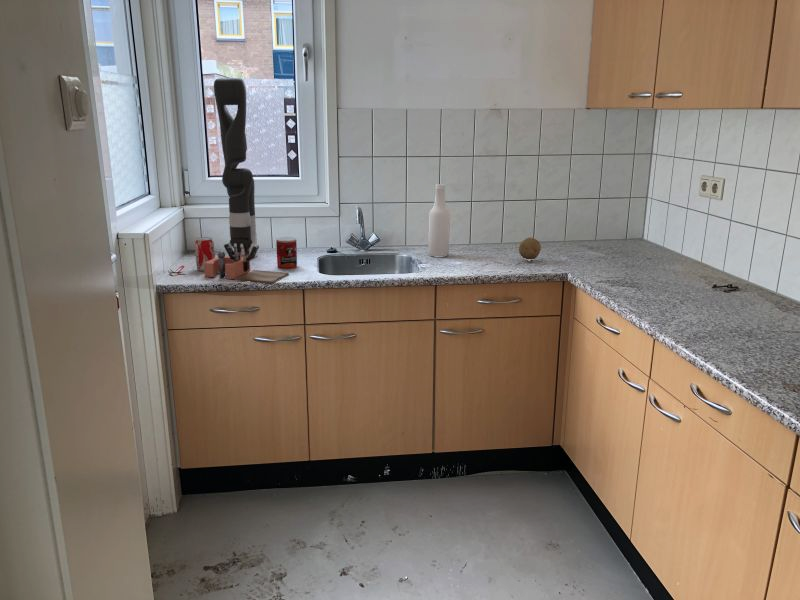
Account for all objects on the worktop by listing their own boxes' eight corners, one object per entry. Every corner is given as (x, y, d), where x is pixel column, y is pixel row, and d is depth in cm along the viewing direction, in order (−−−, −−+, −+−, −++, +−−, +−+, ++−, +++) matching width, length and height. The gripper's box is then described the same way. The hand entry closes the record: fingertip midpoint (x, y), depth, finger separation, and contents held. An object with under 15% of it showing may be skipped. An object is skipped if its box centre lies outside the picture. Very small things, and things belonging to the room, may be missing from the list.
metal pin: (221, 276, 241) (219, 250, 238) (227, 276, 240) (226, 250, 237) (217, 277, 238) (215, 251, 236) (224, 278, 238) (222, 252, 235)
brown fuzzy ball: (537, 264, 266) (539, 240, 263) (515, 262, 269) (517, 238, 266) (541, 260, 274) (543, 236, 271) (520, 258, 277) (521, 235, 274)
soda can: (210, 272, 246) (208, 240, 243) (193, 271, 248) (190, 239, 244) (219, 268, 253) (217, 237, 250) (202, 267, 254) (199, 236, 251)
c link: (221, 268, 250) (220, 255, 249) (250, 270, 247) (249, 257, 246) (204, 276, 239) (203, 262, 237) (234, 278, 236) (233, 265, 235)
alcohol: (424, 256, 278) (426, 184, 270) (432, 252, 286) (433, 182, 278) (444, 258, 275) (447, 186, 267) (451, 254, 283) (453, 184, 275)
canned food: (280, 269, 252) (279, 241, 249) (274, 265, 259) (273, 237, 256) (300, 267, 255) (299, 239, 252) (293, 263, 262) (292, 236, 259)
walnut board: (254, 272, 248) (254, 269, 247) (288, 274, 244) (288, 272, 244) (236, 280, 235) (236, 278, 234) (272, 283, 231) (272, 281, 231)
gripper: (262, 223, 240) (264, 270, 245) (228, 221, 244) (230, 267, 249) (252, 227, 233) (255, 274, 238) (217, 225, 237) (220, 271, 242)
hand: (242, 270), depth 243 cm, fingers closed on c link
